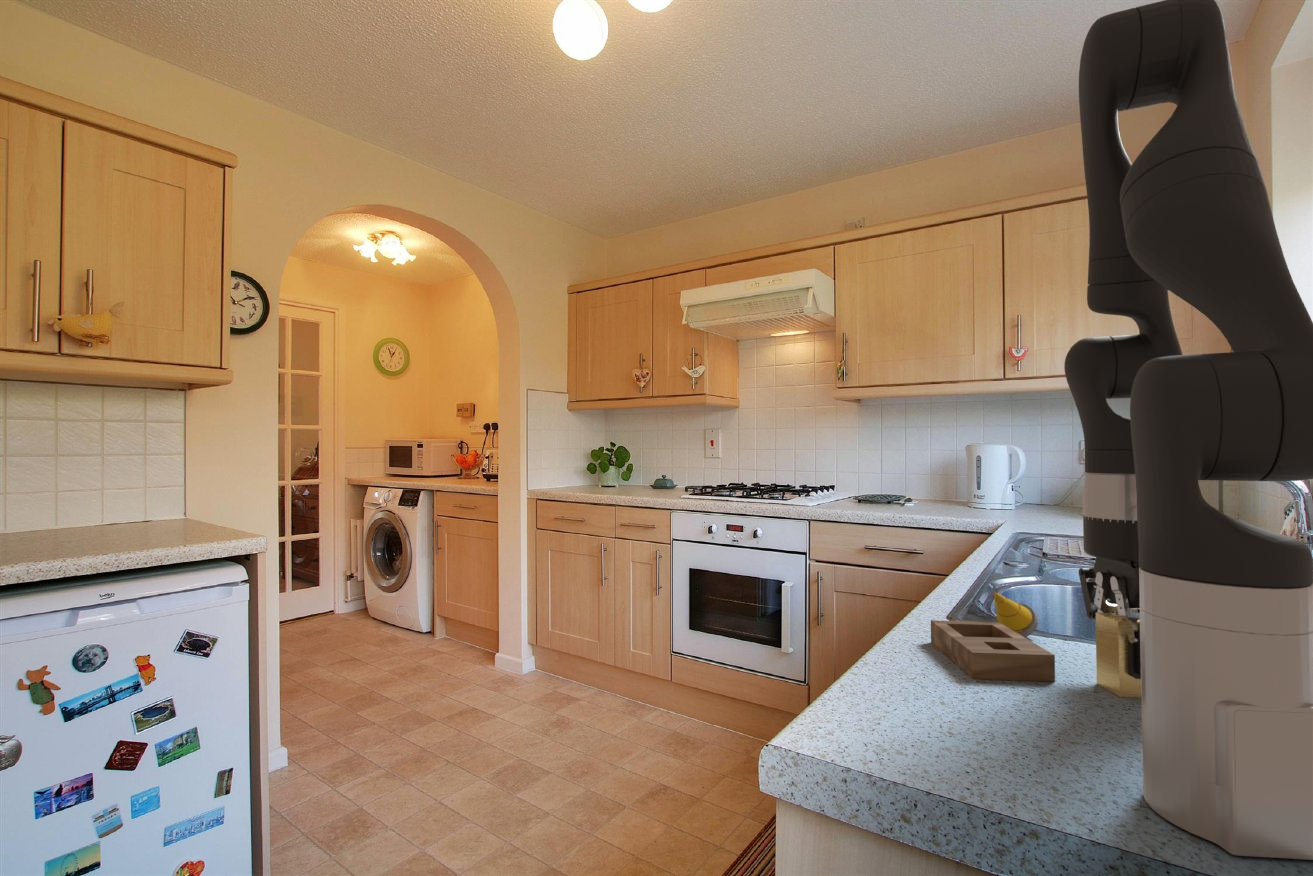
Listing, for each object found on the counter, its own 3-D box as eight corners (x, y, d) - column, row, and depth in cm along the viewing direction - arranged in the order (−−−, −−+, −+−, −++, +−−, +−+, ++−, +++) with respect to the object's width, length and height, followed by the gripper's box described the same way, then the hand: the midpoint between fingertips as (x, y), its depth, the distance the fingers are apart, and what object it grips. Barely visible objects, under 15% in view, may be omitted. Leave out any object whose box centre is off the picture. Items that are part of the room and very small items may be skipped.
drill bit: (1051, 645, 86) (1018, 601, 82) (1011, 655, 88) (977, 612, 85) (1041, 615, 90) (1009, 571, 87) (1004, 624, 93) (971, 583, 89)
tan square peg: (1159, 698, 66) (1158, 622, 66) (1119, 697, 66) (1118, 621, 66) (1134, 684, 70) (1133, 613, 70) (1096, 683, 70) (1095, 612, 70)
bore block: (1055, 681, 71) (1054, 655, 71) (972, 678, 71) (972, 652, 71) (999, 644, 84) (998, 622, 85) (930, 642, 85) (930, 620, 85)
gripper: (1211, 521, 61) (1215, 697, 61) (1118, 509, 75) (1121, 651, 75) (1130, 521, 62) (1133, 694, 61) (1053, 508, 76) (1055, 649, 75)
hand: (1126, 669), depth 68 cm, fingers closed on tan square peg, 4 cm apart
